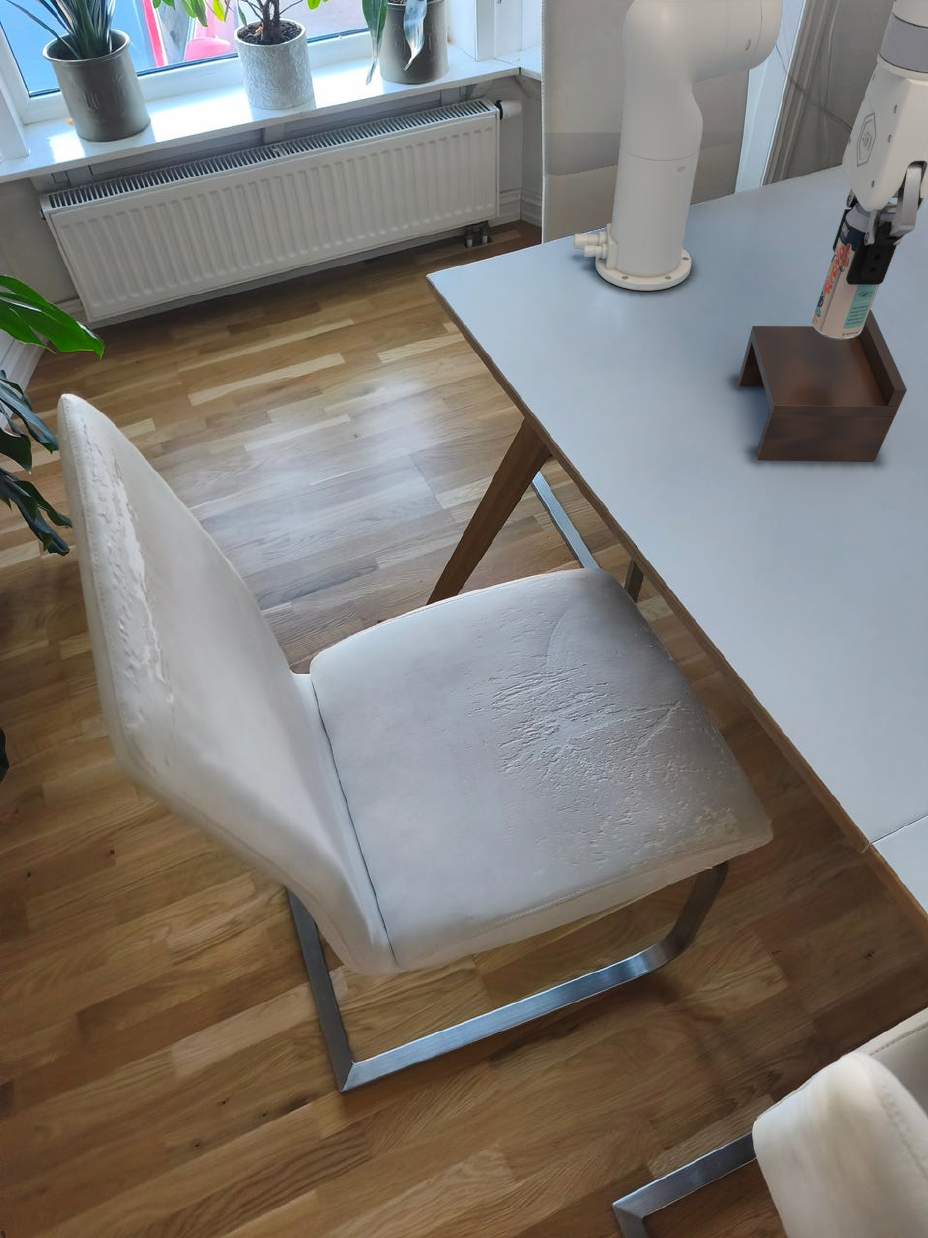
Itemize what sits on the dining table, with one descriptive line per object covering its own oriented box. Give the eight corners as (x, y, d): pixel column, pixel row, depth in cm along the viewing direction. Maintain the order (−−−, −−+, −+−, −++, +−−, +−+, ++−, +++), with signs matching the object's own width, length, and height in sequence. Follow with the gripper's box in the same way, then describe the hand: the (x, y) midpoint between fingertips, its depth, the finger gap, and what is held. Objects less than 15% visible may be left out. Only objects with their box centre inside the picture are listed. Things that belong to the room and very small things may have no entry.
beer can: (823, 311, 87) (862, 191, 77) (868, 326, 85) (914, 205, 75) (802, 332, 85) (840, 211, 75) (848, 349, 83) (893, 227, 73)
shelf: (757, 460, 89) (780, 388, 82) (737, 379, 98) (756, 308, 91) (874, 461, 89) (907, 389, 82) (844, 380, 97) (871, 309, 90)
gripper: (858, 7, 71) (797, 223, 85) (915, 85, 60) (835, 317, 74) (950, 5, 71) (874, 223, 85) (1024, 84, 60) (923, 317, 74)
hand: (856, 265), depth 79 cm, fingers closed on beer can, 4 cm apart
